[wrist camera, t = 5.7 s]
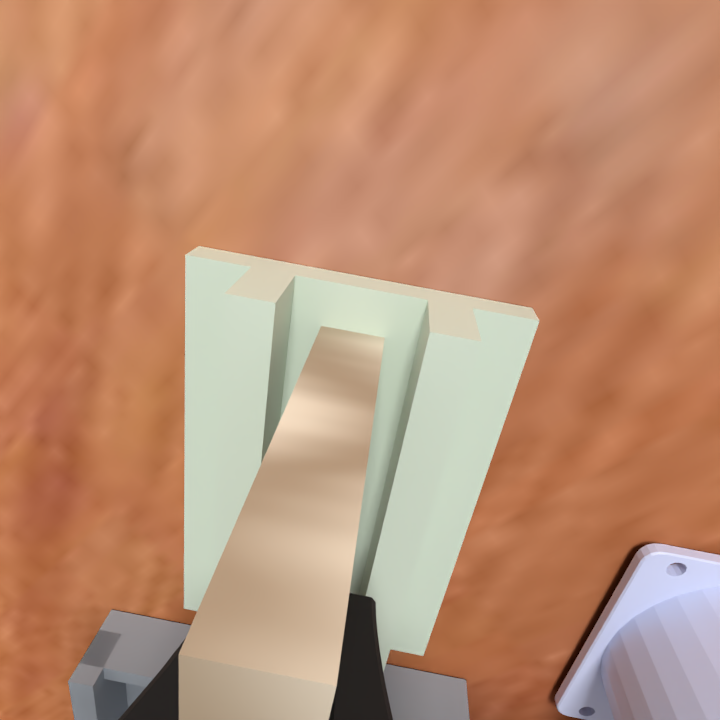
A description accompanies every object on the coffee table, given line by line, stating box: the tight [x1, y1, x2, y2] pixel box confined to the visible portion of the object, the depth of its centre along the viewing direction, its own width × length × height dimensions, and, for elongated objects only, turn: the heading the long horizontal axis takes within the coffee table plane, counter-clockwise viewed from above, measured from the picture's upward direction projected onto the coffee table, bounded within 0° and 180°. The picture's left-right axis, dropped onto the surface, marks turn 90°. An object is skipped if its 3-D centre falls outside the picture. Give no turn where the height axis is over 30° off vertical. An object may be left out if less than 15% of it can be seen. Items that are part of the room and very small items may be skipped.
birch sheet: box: [179, 326, 385, 720], centre depth 11 cm, size 2×10×8 cm, turn 171°
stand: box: [184, 246, 539, 672], centre depth 14 cm, size 8×12×3 cm, turn 171°
